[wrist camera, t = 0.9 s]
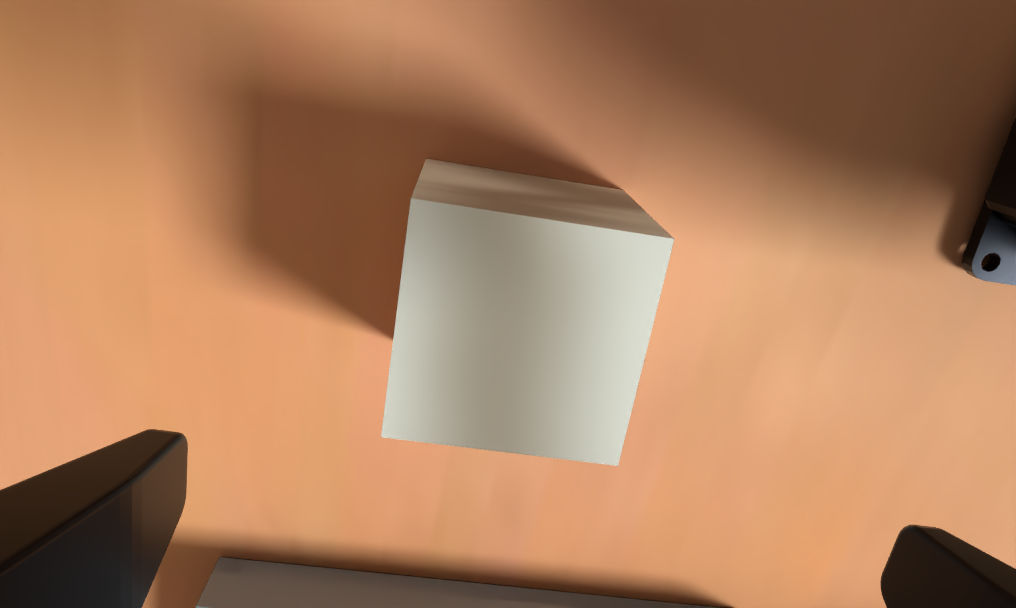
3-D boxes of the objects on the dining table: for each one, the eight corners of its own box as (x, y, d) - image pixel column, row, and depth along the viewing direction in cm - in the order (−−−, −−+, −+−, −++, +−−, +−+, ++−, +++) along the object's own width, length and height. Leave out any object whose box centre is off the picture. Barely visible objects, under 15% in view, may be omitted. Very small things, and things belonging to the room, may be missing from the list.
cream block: (622, 189, 19) (674, 239, 14) (583, 367, 20) (618, 466, 15) (426, 158, 18) (411, 198, 13) (402, 343, 20) (381, 437, 15)
